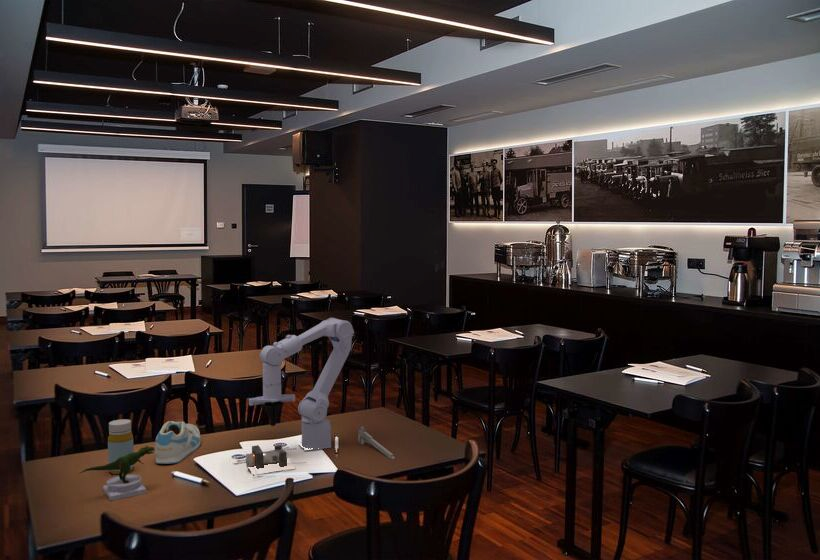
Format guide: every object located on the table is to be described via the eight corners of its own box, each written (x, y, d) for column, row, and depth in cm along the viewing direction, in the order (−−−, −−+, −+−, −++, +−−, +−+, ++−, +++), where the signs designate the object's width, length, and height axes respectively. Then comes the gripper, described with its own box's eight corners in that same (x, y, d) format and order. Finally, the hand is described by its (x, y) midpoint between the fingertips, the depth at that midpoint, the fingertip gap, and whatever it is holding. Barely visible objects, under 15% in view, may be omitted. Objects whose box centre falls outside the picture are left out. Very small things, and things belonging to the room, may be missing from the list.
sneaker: (206, 439, 235) (205, 408, 235) (184, 466, 209) (183, 431, 208) (176, 439, 235) (175, 408, 234) (150, 466, 208) (149, 432, 208)
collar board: (288, 459, 214) (288, 440, 213) (295, 469, 206) (295, 449, 205) (246, 465, 209) (246, 446, 208) (252, 475, 201) (252, 455, 200)
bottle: (139, 468, 206) (137, 420, 205) (122, 476, 200) (120, 426, 199) (120, 465, 209) (119, 417, 207) (103, 473, 202) (101, 424, 201)
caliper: (358, 443, 231) (358, 425, 230) (360, 443, 231) (360, 425, 231) (392, 460, 215) (392, 441, 214) (395, 459, 215) (395, 440, 215)
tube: (281, 460, 211) (281, 447, 210) (284, 464, 207) (284, 451, 206) (245, 465, 206) (245, 452, 206) (248, 469, 202) (248, 456, 202)
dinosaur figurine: (160, 490, 189) (158, 449, 189) (82, 507, 178) (80, 464, 177) (151, 480, 197) (149, 441, 196) (75, 496, 185) (73, 454, 184)
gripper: (251, 388, 210) (252, 431, 211) (297, 384, 216) (297, 425, 217) (247, 383, 217) (248, 424, 218) (292, 379, 222) (292, 419, 223)
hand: (272, 425), depth 218 cm, fingers closed
